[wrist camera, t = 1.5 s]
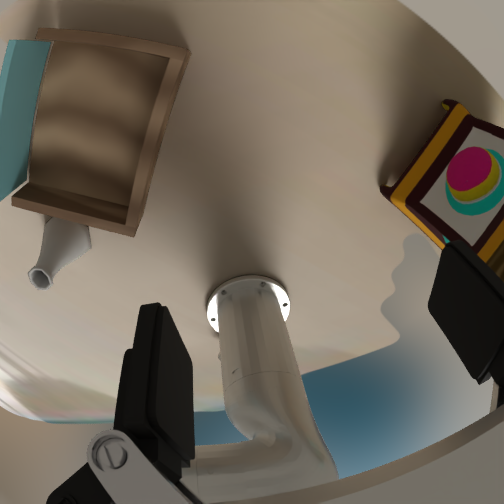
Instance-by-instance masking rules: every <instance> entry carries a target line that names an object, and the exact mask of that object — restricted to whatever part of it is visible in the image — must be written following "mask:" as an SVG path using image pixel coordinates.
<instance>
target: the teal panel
mask: <svg viewBox="0 0 504 504" xmlns="http://www.w3.org/2000/svg"><path fill="white" fill-rule="evenodd" d="M50 44H51V42H43V41H29V40H9V42H8V46H7V50H6V54H5V57H4V62H3V66H2V70H1V75H0V201H1V200H3V199H4V198H5V197H6V196H7V195H9V194H10V193H11V192H12V191H13V190H15V189H16V188H17V187H18V186H20V185H21V184H22V183H24V182H25V181H26V180H27V168H28V157H29V147H30V139H31V132H32V125H33V118H34V112H35V107H36V101H37V96H38V91H39V87H40V82H41V78H42V74H43V70H44V66H45V62H46V58H47V55H48V51H49V48H50Z"/></svg>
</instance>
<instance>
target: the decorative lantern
mask: <svg viewBox="0 0 504 504" xmlns="http://www.w3.org/2000/svg"><path fill="white" fill-rule="evenodd" d="M442 106H443V108H444V109H445V110H447V111H448V112H447V114H446V115H445V117H444V118H443V119H442V121H441V122H440V124H439V125H438V127H437V128H436V129H435V131H434V132H433V134H432V135H431V137H430V138H429V139H428V141H427V142H426V144H425V145H424V146H423V148H422V149H421V150H420V152H419V153H418V155H417V156H416V157H415V159H414V160H413V161H412V163H411V164H410V165H409V167H408V168H407V169H406V171H405V172H404V173H403V175H402V176H401V177H400V179H399V180H398V181H397V182H396V184H395V185H394V186H392V187H389V186H387V185H381V186H380V192H381V193H382V195H383V196H384V197H385V198H386V199H387V200H388V201H390V202H391V203H392V204H393V205H394V206H396V207H397V208H398V209H399V210H400V211H401V212H402V213H403V214H404V215H406V216H407V217H408V218H409V219H410V220H411V221H412V222H413V223H414V224H415V225H416V226H418V227H419V228H420V229H421V230H422V231H423V232H424V233H425V234H426V235H427V236H428V237H429V238H430V239H431V240H432V241H433V242H434V243H435V244H436V245H437V246H438V247H439V248H440V249H441V250H442V249H443V248H444V247H445V245H446V243H448V242H452V241H456V240H462V241H463V242H465V243H466V244H467V245H468V246H469V247H470V248H471V249H472V250H473V251H474V252H475V253H476V254H477V255H478V256H479V257H480V258H481V259H482V260H483V261H484V262H485V263H486V264H487V265H488V266H489V267H490V268H491V269H492V270H493V271H494V272H495V273H496V274H497V275H498V277H499V278H500V279H501V280H502V281H503V282H504V128H501V127H499V126H496V125H493V124H491V123H488V122H486V121H483V120H480V119H477V118H475V117H473V116H472V115H471V114H470V113H469V112H468V111H467V110H466V108H465V107H464V106H463V105H462V104H460V103H459V102H457V101H454V100H450V99H445V100H443V101H442Z"/></svg>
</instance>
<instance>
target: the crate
mask: <svg viewBox="0 0 504 504" xmlns="http://www.w3.org/2000/svg"><path fill="white" fill-rule="evenodd" d="M35 39H42V40H52V41H54V44H53V47H52V50H51V54H50V58H49V61H48V65H47V69H46V73H45V77H44V81H43V86H42V90H41V95H40V100H39V105H38V110H37V116H36V122H35V129H34V136H33V144H32V152H31V162H30V175H29V182H28V183H27V184H26V185H25V186H23V187H22V188H21V189H20V190H19V191H17V192H16V193H15V194H14V195H13V196H12V206H15V207H18V208H22V209H26V210H30V211H33V212H37V213H41V214H45V215H49V216H52V217H56V218H60V219H64V220H68V221H72V222H75V223H79V224H83V225H87V226H91V227H95V228H99V229H103V230H107V231H111V232H115V233H118V234H122V235H126V236H130V237H134V236H135V234H136V231H137V228H138V226H139V223H140V221H141V218H142V216H143V213H144V209H145V204H146V200H147V196H148V192H149V187H150V183H151V179H152V176H153V172H154V168H155V164H156V160H157V157H158V153H159V150H160V146H161V143H162V139H163V136H164V132H165V129H166V126H167V122H168V119H169V116H170V113H171V110H172V107H173V104H174V101H175V98H176V95H177V92H178V89H179V86H180V83H181V80H182V77H183V75H184V72H185V69H186V66H187V64H188V61H189V58H190V56H191V53H190V52H189V50H188V49H185V48H181V47H177V46H172V45H168V44H164V43H159V42H154V41H149V40H144V39H139V38H133V37H128V36H121V35H115V34H108V33H100V32H92V31H82V30H71V29H55V28H39V29H38V32H37V35H36V38H35Z"/></svg>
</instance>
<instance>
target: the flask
mask: <svg viewBox="0 0 504 504" xmlns="http://www.w3.org/2000/svg"><path fill="white" fill-rule="evenodd" d="M89 249H91V242H90V235H89V229H88V228H87V227H86V226H85V225H83V224H79V223H75V222H72V221H68V220H64V219H60V218H56V217H52V218H51V219H50V220H49V221H48V222H47V223H46V224H45V227H44V233H43V241H42V246H41V252H40V256H39V259H38V261H37V264H36V266H34V267H33V268H32V269H31V270H30V271H29V272H28V276H29V279H30V282H31V283H32V284H33V285H34V286H35V287H36V288H37V289H38V290H48V289H49V288H50V287H51V286H52V285H53V278H54V276H55V275H56V273H57V272H58V271H59V270H60V269H62V268H63V267H65V266H66V265H68V264H69V263H71V262H73V261H75V260H76V259H78V258H79V257H81V256H82V255H83V254H84V253H86V252H87V251H88V250H89Z"/></svg>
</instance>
